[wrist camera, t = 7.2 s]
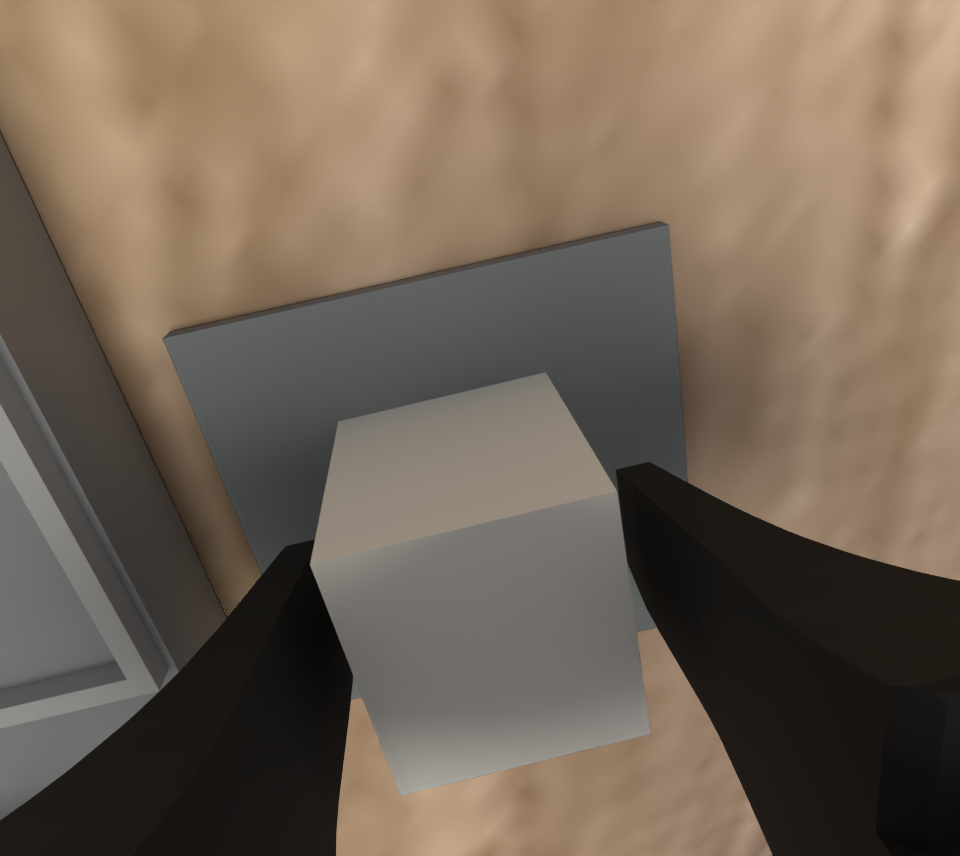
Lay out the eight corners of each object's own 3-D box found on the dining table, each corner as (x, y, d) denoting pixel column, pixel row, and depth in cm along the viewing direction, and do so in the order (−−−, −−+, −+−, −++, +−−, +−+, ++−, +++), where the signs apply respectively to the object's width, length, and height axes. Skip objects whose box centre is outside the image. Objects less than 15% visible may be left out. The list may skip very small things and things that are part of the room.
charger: (545, 372, 13) (617, 490, 9) (579, 562, 14) (650, 733, 10) (334, 422, 13) (304, 565, 8) (395, 606, 14) (395, 796, 10)
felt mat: (660, 221, 12) (668, 225, 12) (690, 606, 16) (697, 617, 16) (169, 332, 12) (162, 338, 12) (319, 693, 16) (317, 707, 15)
